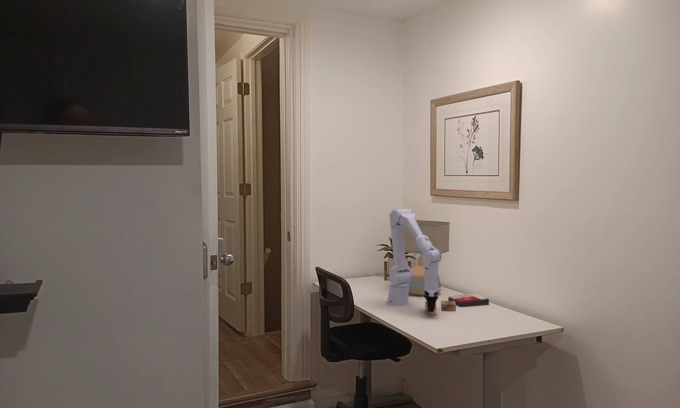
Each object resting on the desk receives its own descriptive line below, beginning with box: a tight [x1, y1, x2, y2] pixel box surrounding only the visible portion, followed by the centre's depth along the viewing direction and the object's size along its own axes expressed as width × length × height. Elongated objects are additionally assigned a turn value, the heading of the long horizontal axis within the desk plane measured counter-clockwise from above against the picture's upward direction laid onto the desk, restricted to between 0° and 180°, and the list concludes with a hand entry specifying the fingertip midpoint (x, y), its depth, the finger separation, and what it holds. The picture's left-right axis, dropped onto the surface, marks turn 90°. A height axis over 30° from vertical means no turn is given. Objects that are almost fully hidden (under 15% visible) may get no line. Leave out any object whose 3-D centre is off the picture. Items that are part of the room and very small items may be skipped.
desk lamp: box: [403, 219, 450, 297], centre depth 258 cm, size 22×19×37 cm
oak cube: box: [424, 301, 437, 316], centre depth 220 cm, size 4×4×4 cm
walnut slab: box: [440, 300, 457, 313], centre depth 227 cm, size 6×6×3 cm
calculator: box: [447, 292, 490, 308], centre depth 238 cm, size 11×4×15 cm
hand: (430, 309), depth 220 cm, fingers open, 7 cm apart
